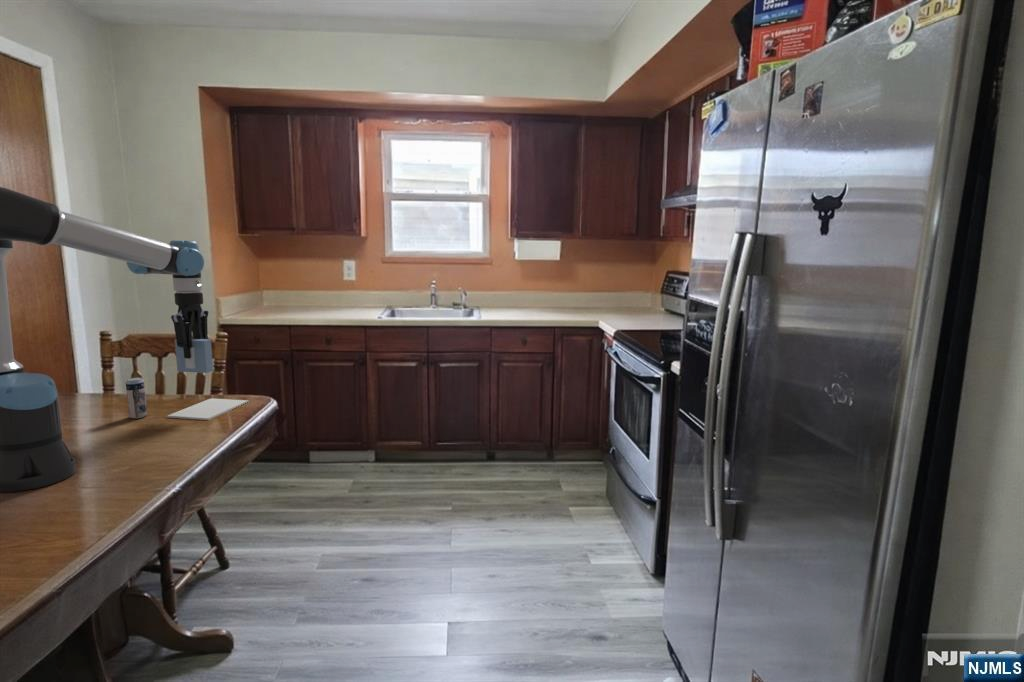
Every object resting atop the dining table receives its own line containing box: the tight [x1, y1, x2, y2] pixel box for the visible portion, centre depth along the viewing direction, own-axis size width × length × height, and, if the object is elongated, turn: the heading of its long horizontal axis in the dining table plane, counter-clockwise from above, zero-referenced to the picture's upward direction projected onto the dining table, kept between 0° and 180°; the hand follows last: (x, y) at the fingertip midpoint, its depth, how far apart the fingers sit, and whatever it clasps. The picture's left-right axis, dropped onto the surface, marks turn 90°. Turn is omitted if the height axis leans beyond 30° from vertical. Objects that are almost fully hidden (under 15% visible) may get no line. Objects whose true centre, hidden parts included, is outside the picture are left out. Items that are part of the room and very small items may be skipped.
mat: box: [166, 397, 250, 421], centre depth 178 cm, size 20×14×1 cm
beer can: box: [125, 377, 148, 420], centre depth 169 cm, size 5×5×12 cm
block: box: [174, 338, 214, 374], centre depth 171 cm, size 3×10×10 cm, turn 82°
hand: (195, 366), depth 172 cm, fingers closed on block, 3 cm apart
